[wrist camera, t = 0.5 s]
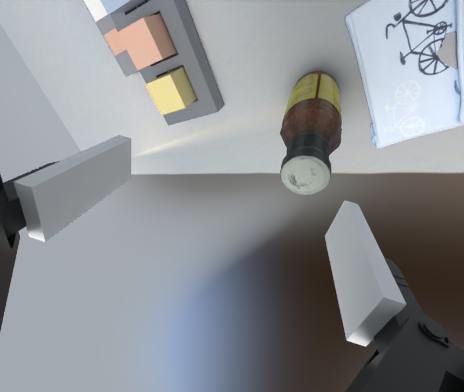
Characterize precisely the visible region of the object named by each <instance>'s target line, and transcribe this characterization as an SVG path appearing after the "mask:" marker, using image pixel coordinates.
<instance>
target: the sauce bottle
mask: <svg viewBox="0 0 464 392" xmlns="http://www.w3.org/2000/svg"><path fill="white" fill-rule="evenodd" d="M341 124H342V122H341V110H340V96H339V89H338V86H337V84H336V82H335V80H334V79H333V78H332V77H330V76H329V75H327V74H325V73H322V72H313V73H309V74H308V75H306V76H304V77H303V78H301V79H300V80H299V81H298V83H297V84H296V85H295V87H294V89H293V90H292V93H291V96H290V100H289V102H288V106H287V109H286V112H285V115H284V119H283V123H282V128H281V132H280V135H281V137H282V139H283V141H284V143H285V145H286V147H287V155H286V157H285V158H284V159H283V162H282V166H281V171H280V173H281V180H282V182H283V183H284V185H285V186H286V187H287V188H289V189H290V190H291V191H293V192H295V193H297V194H302V195H309V194H313V193H317V192H319V191H321V190H322V189H324V188H325V187H326V186H327V184H328V183H329V181H330V178H331V163H330V161H329V155H330V154H331V153H332V152H333V151H334V150H336V149H337V148H338V147H339V145H340V143H341V131H342V129H341Z"/></svg>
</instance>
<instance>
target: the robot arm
mask: <svg viewBox="0 0 464 392" xmlns="http://www.w3.org/2000/svg"><path fill="white" fill-rule="evenodd" d="M129 179H131V138H127V137H124V136H120V135H119V136H116V137H114V138H112V139H109V140H107V141H105V142H103V143H100V144H98V145H96V146H94V147H91V148H89V149H87V150H84V151H82V152H80V153H78V154H75V155H73V156H71V157H69V158H66V159H64V160H62V161H58V162H53V163H49V164H46V165H44V166H42V167H39V169H35V170H32V171H31V172H28V173H26V174H23V175H21V176H18V177H16V178H14V179H12V180H9V181H7V182H4V183H3V181H2V178H1V175H0V330H1V325H2V321H3V316H4V311H5V306H6V302H7V297H8V292H9V287H10V282H11V278H12V273H13V268H14V263H15V259H16V254H17V249H18V245H19V240H20V235H19V232H18V231H19V230H21V229H22V228H24V227H25V226H26V227H27V231H28V234H29V237H32V238H35V239H38V240H41V241H44V242H46V241H47V240H49V239H50V238H51V237H53V236H54V235H55V234H57V233H58V232H59V231H61V230H62V229H63V228H65V227H66V226H68V225H69V224H70V223H72V222H73V221H74V220H76V219H77V218H78V217H79V216H81V215H82V214H84V213H85V212H86V211H88V210H89V209H90V208H92V207H93V206H94V205H96V204H97V203H98V202H99V201H101V200H102V199H104V198H105V197H106V196H108V195H109V194H110V193H112V192H113V191H114V190H116V189H117V188H118V187H120V186H121V185H122V184H124V183H125V182H126V181H128V180H129ZM325 239H326V244H327V249H328V254H329V258H330V263H331V268H332V273H333V277H334V282H335V287H336V292H337V297H338V301H339V306H340V311H341V316H342V321H343V325H344V330H345V335H346V340H347V341H350V342H354V343H356V344H360V345H363V346H367V345H368V344H369V343H370V342H371V341H372V340H373V339H374V340H375V343H376V346H377V349H376V350H375V351H374V352H373V354H371V355H370V356H369V357H368V358H367V359H366V360H365V361H364V362H363V363H364V366H363V367H362V369H361V370H360V371H359V373H358V374H357V375H356V377H355V378H354V380H353V381H352V383H351V384H350V385H349V387H348V388H347V389H346V391H345V392H464V350H462V349H460V348H459V347H457V346H455V345H454V343H453V341H452V339H451V337H450V336H449V335H448V333H447V332H446V331H445V330H444V328H442V327H441V326H440V325H439V324H438V323H437V322H435V321H434V320H432V319H430V318H429V317H427V316H425V315H424V314H423V312H422V310H421V309H420V307H419V305H418V303H417V301H416V299H415V297H414V296H413V294H412V292H411V290H410V289H409V288H408V287H409V286H408V284H407V282H406V281H405V280H404V279H405V278H404V277H403V275H402V273H401V271H400V269H399V268H398V267H397V266H396V265H395V264H394V263H393V262H392V261H391V260H390V259H387V258H384V257H383V255H382V253H381V251H380V249H379V247H378V245H377V242H376V241H375V238H374V236H373V234H372V232H371V230H370V228H369V226H368V224H367V222H366V220H365V218H364V216H363V214H362V212H361V210H360V207H359V206H358V204H356V203H352V202H349V201H344V202H343V204H342V206H341V208H340V210H339V212H338V213H337V215H336V217H335V219H334V221H333V222H332V224H331V226H330V228H329V230H328V232H327V233H326V235H325Z"/></svg>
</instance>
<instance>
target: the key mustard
mask: <svg viewBox="0 0 464 392" xmlns="http://www.w3.org/2000/svg"><path fill="white" fill-rule="evenodd" d="M145 85H146V87H147V89H148V91H149V93H150V95H151V96H152V98H153V100H154V102H155V104H156V106H157V108H158V110H159V112H160V113H161V115H164V114H167V113H171V112H174V111H177V110H181V109H184V108H186V107H187V106H189V105H190V104H191V103H192V102H193V101H194V100H196V99H197V96H196V94H195V92H194V89H193V87H192V85H191V82H190V80H189V78H188V75H187V73H186V71H185V68H184V67H182V68H179V69H177V70H174V71H172V72H169V73H167V74H164V75H162V76H159V77H158V78H156V79H154V80H152V81H150V82H149V83H147V84H145Z"/></svg>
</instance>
